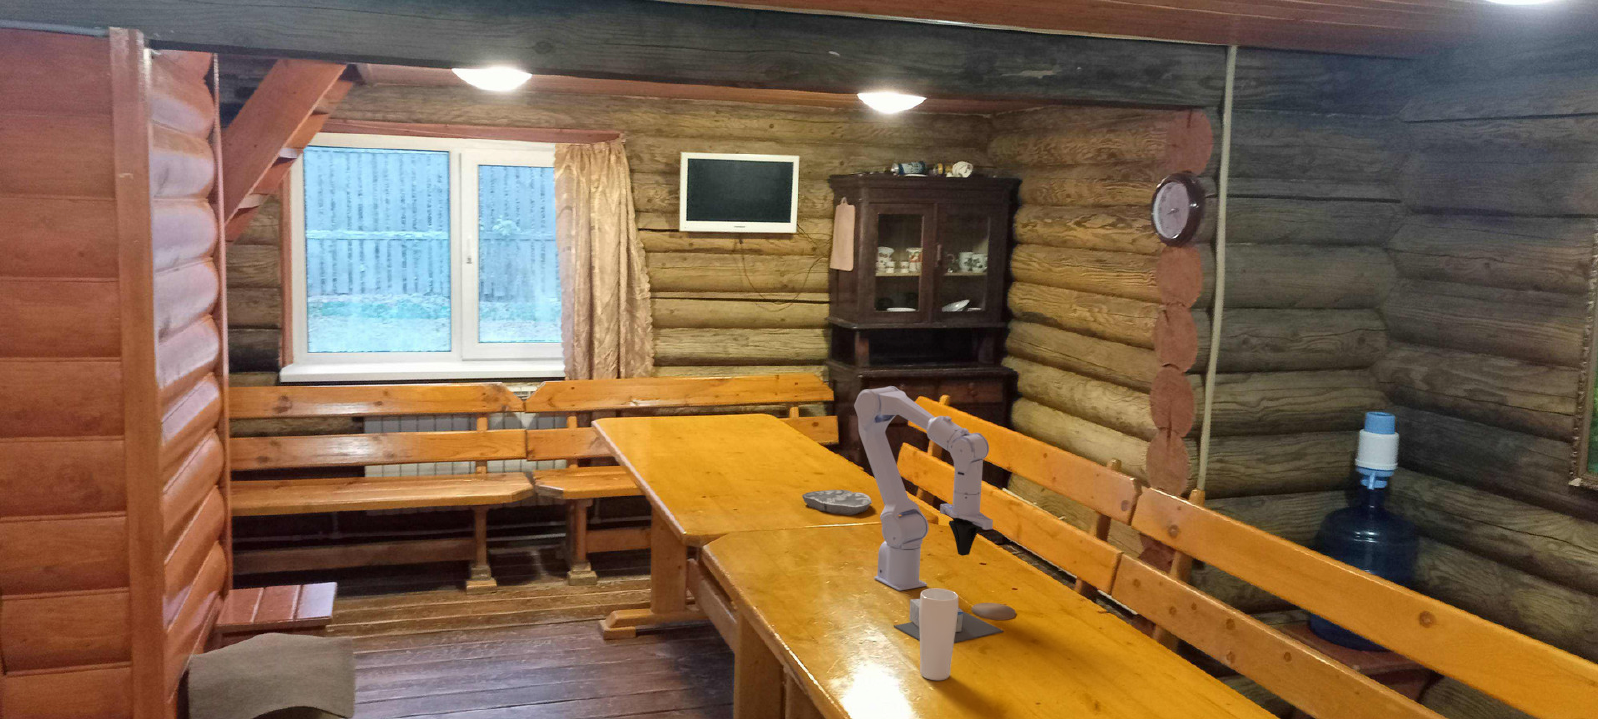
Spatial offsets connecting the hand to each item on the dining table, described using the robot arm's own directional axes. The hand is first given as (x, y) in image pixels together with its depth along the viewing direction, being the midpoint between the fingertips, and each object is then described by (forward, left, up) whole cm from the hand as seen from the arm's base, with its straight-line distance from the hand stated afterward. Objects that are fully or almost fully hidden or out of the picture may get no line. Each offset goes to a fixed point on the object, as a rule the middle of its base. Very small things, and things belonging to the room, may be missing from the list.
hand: (963, 554), depth 240 cm
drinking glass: (+28, -30, -11) cm, 42 cm away
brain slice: (-76, +21, -11) cm, 80 cm away
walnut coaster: (+8, +2, -11) cm, 14 cm away
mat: (+11, -13, -10) cm, 20 cm away
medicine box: (+5, -13, -8) cm, 16 cm away
